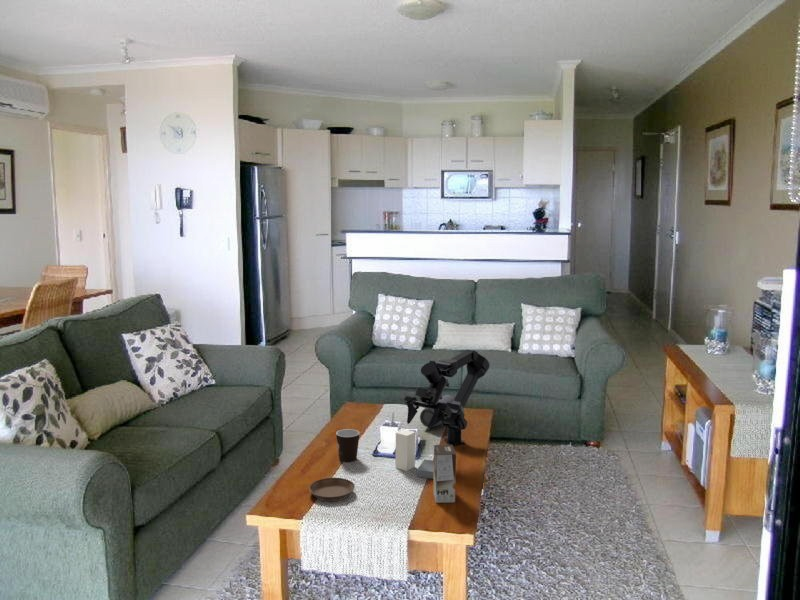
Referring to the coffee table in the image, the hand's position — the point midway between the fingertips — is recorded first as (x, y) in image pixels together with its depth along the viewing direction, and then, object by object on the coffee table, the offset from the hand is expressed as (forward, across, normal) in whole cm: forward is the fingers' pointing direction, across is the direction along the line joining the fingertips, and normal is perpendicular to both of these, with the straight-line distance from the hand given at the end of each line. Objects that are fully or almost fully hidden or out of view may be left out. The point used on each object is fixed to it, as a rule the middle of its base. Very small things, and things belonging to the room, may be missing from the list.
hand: (418, 425), depth 250 cm
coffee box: (+24, +24, -5) cm, 34 cm away
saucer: (+38, -6, -19) cm, 43 cm away
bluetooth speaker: (-20, -18, +39) cm, 47 cm away
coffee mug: (+19, -22, 0) cm, 29 cm away
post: (+15, 0, +4) cm, 15 cm away
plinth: (+14, +11, +5) cm, 18 cm away
